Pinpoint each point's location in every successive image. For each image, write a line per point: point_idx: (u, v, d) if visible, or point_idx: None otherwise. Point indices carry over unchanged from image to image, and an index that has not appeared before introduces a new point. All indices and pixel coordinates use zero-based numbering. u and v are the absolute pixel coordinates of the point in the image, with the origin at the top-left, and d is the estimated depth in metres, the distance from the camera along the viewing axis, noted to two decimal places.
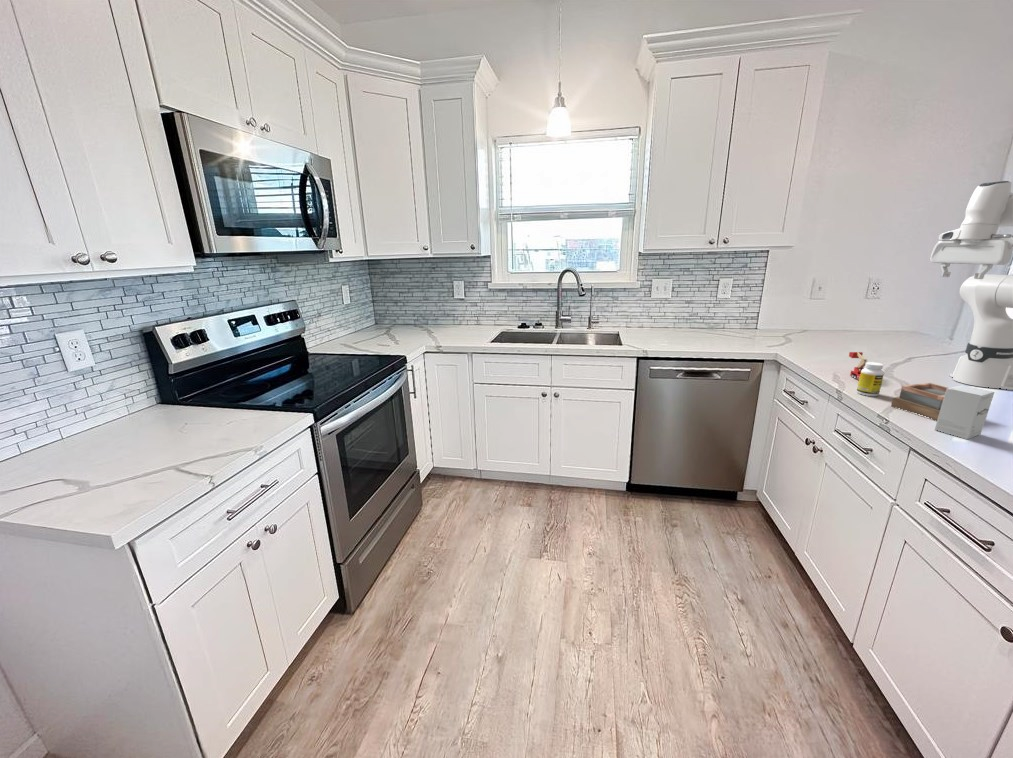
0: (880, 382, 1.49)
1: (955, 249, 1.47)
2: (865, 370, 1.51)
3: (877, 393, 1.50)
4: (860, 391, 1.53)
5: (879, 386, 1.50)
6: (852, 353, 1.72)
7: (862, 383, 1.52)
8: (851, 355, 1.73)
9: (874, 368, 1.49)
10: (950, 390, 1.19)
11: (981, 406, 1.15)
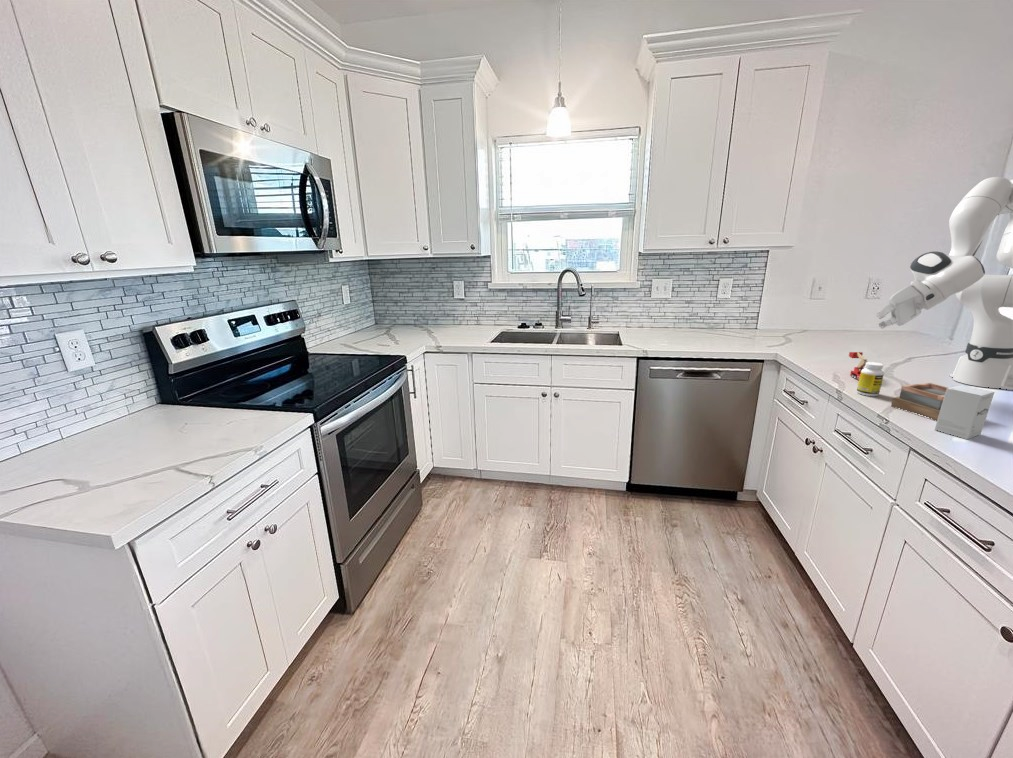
0: (880, 382, 1.49)
1: (910, 304, 1.45)
2: (865, 370, 1.51)
3: (877, 393, 1.50)
4: (860, 391, 1.53)
5: (879, 386, 1.50)
6: (852, 353, 1.72)
7: (862, 383, 1.52)
8: (851, 355, 1.73)
9: (874, 368, 1.49)
10: (950, 390, 1.19)
11: (981, 406, 1.15)
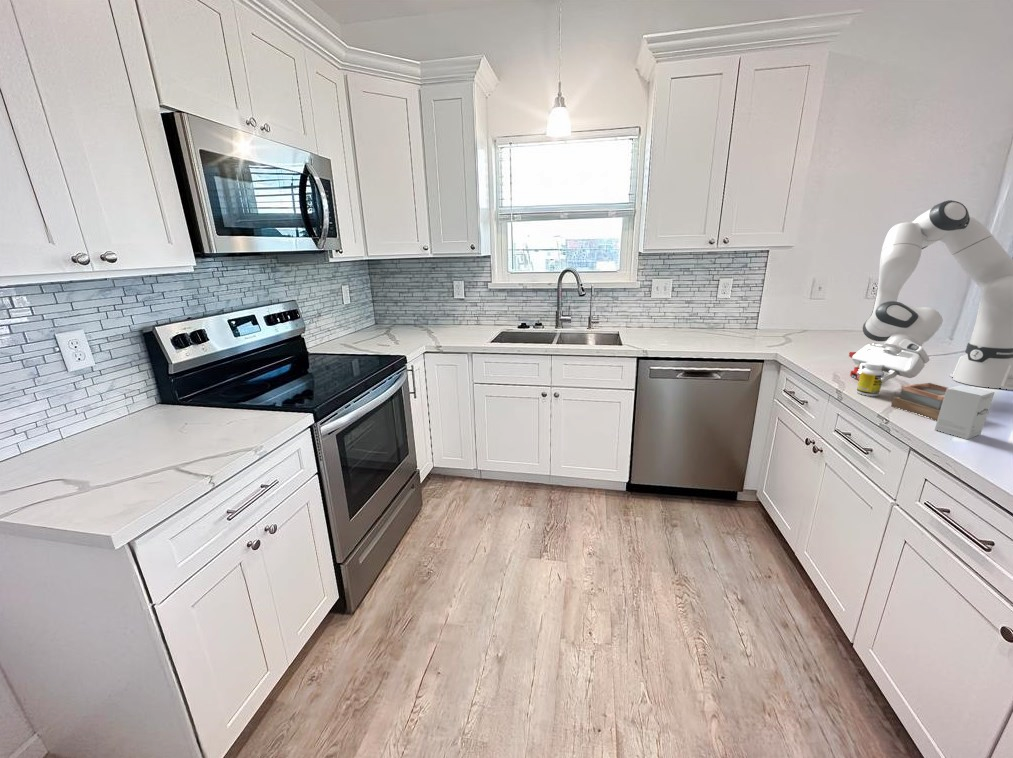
0: (880, 382, 1.49)
1: None
2: (865, 370, 1.51)
3: (877, 393, 1.50)
4: (860, 391, 1.53)
5: (879, 386, 1.50)
6: (852, 353, 1.72)
7: (862, 383, 1.52)
8: (851, 355, 1.73)
9: (874, 368, 1.49)
10: (950, 390, 1.19)
11: (981, 406, 1.15)
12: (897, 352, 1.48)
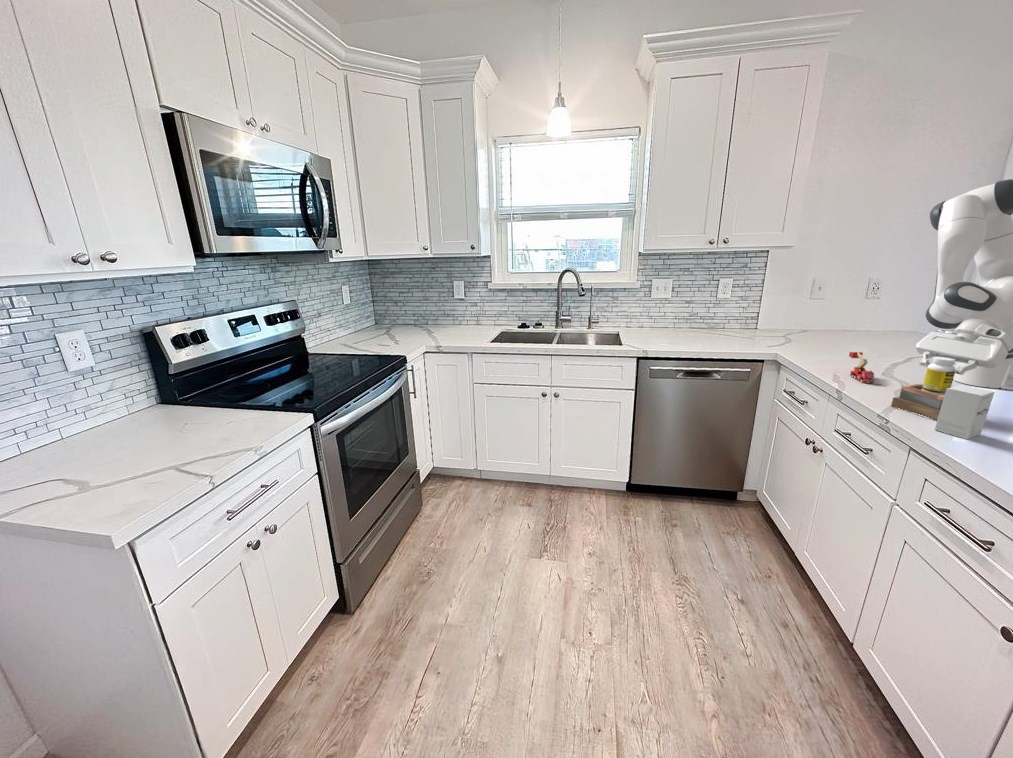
0: (951, 379, 1.31)
1: None
2: (933, 366, 1.33)
3: None
4: (926, 390, 1.35)
5: (950, 384, 1.31)
6: (852, 353, 1.72)
7: (929, 381, 1.34)
8: (851, 355, 1.73)
9: (944, 363, 1.31)
10: (950, 390, 1.19)
11: (981, 406, 1.15)
12: (973, 339, 1.29)
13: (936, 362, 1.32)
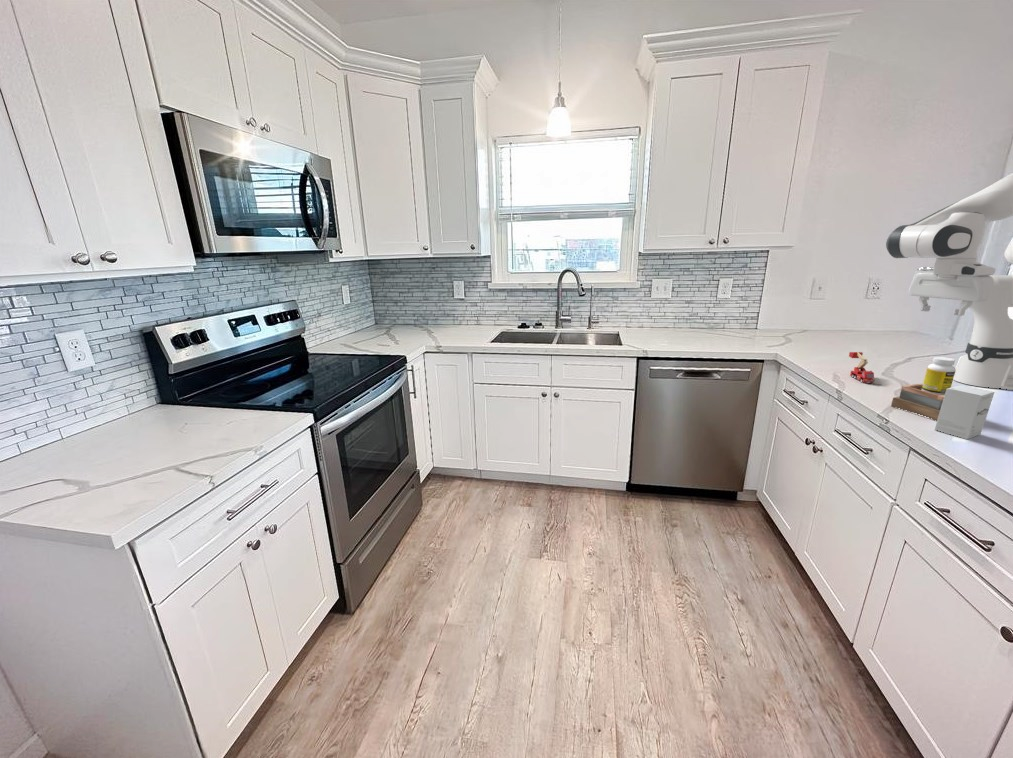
0: (951, 380, 1.31)
1: None
2: (933, 366, 1.33)
3: None
4: (926, 390, 1.35)
5: (950, 384, 1.31)
6: (852, 353, 1.72)
7: (929, 381, 1.34)
8: (851, 355, 1.73)
9: (944, 364, 1.31)
10: (950, 390, 1.19)
11: (981, 406, 1.15)
12: (954, 278, 1.33)
13: (936, 362, 1.32)
